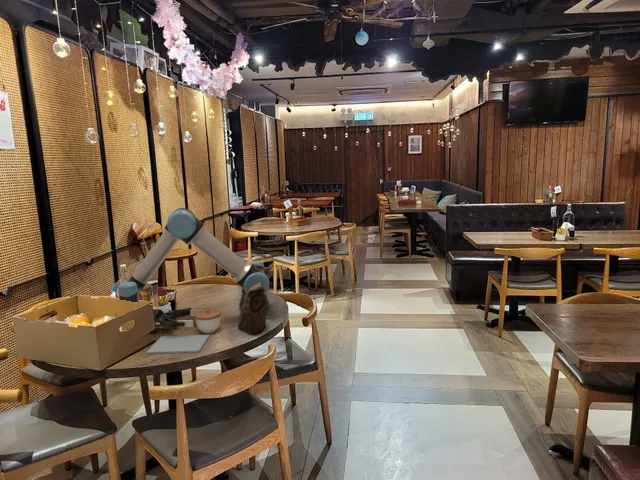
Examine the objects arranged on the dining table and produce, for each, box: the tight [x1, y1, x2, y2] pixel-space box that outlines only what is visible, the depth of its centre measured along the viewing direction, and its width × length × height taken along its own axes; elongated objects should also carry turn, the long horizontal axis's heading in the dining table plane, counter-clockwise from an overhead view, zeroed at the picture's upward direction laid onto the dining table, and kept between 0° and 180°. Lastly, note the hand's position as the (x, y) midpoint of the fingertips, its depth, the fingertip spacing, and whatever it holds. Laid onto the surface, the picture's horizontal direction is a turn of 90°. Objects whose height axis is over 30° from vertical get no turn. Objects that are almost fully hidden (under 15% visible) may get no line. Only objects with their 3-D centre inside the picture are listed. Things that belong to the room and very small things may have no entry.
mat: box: [146, 334, 210, 355], centre depth 176 cm, size 20×16×1 cm
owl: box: [237, 282, 267, 336], centre depth 187 cm, size 13×13×20 cm
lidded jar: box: [194, 309, 222, 334], centre depth 190 cm, size 11×11×9 cm
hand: (199, 318), depth 189 cm, fingers open, 13 cm apart
